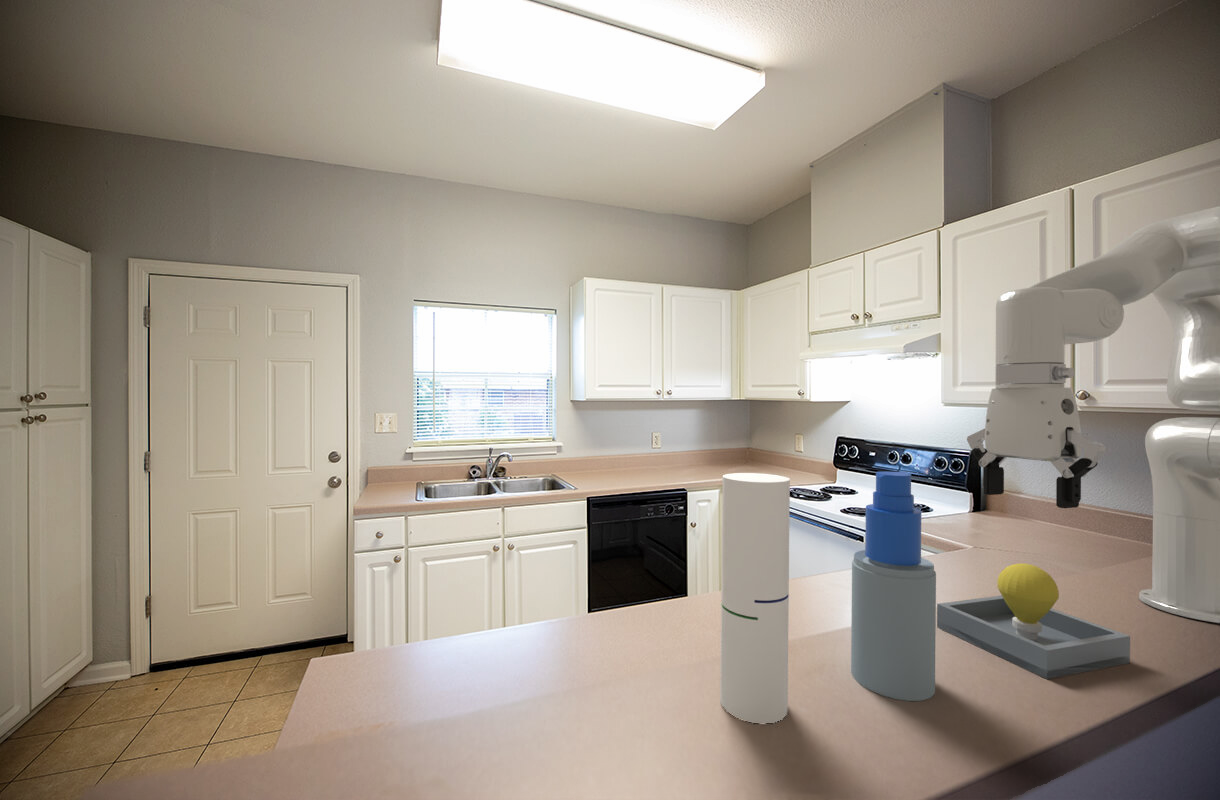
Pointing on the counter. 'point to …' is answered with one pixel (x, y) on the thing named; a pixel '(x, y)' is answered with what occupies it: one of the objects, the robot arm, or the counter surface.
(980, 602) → the tray
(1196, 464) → the robot arm
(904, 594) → the spray bottle
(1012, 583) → the light bulb
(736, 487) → the cylindrical container
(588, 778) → the counter surface
